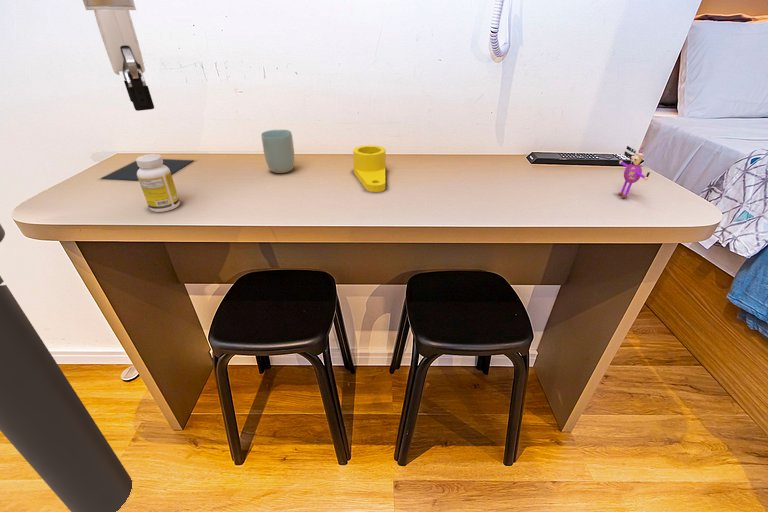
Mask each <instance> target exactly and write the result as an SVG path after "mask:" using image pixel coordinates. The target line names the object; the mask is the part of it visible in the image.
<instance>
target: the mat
mask: <svg viewBox="0 0 768 512" xmlns="http://www.w3.org/2000/svg"><path fill="white" fill-rule="evenodd" d="M162 159H163V158H162ZM193 162H194V160H190V159H163V165H165V166H167V167H168V168H169V170H170V172H171V175H173V174H175V173H176V172H178V171H180V170H182V169H183V168H185V167H186V166H188V165H189V164H192V163H193ZM139 169H140V167H138V165H137V162H136V160H135V161H133V162H131V163H128V164H127V165H125V166H123V167H121V168H119V169H117V170H115V171H113V172H111V173H109V174H107V175H105V176H102V177H101V178H100V179H101V180H117V181H118V180H119V181H138V182H139V180H138V177H137V171H138V170H139Z"/></svg>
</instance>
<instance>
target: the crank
mask: <svg viewBox="0 0 768 512" xmlns="http://www.w3.org/2000/svg"><path fill="white" fill-rule="evenodd" d="M352 158H353V174H354V175H355V177H357V179H358V181H359V182H360V183H361V185H362V186H363V188H364V189H365V190H366V191H367V192H370V193H380V192H383V191H385V190H386V148H385V147H383V146H379V145H371V144H370V145H368V144H367V145H360V146H355V147H354V148H353V149H352Z"/></svg>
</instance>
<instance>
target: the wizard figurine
mask: <svg viewBox="0 0 768 512" xmlns="http://www.w3.org/2000/svg"><path fill="white" fill-rule="evenodd" d="M643 149H644V146H643V145H642V146H641V148H640V149H639V150H638V151H637V150H635V149H634V148H633V147H630V146H628V145H626V150H627V151H626V150H625V151H624V153H623V154H624V155H625V156H626V157H628V158H629V159H630V161H631V162H630V163H629V164H628V163H626V162H624V161H623V160H620V161H619V165H622V166H624V167H625V169H624V171H623V179H624V180H625V181H624V183H623V185H622V188H621V191H620V192H618V193H617V196H621V198H622V199H627V197H628V195H629V192H630V189H631V187H632V185H633V184H634V183H637V182H638V181H639V180H640V178H641V179H643V180H644V181H648V180H649V176H650V174H651V170H648V171H647V173H646V175H645V174H643V170H642V167H641V165H640V163H641V162H642V159H643V158H644V153H643ZM628 151H629V152H628ZM631 153H633V154H634V155H633V154H631ZM627 184H628V185H627ZM624 192H625V193H624Z"/></svg>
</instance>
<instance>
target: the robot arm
mask: <svg viewBox="0 0 768 512" xmlns="http://www.w3.org/2000/svg"><path fill="white" fill-rule="evenodd" d="M82 2H83V5H84V9H85V11H93V12H94V17H95V21H96V24H97V27H98V30H99V34H100V36H101V40H102V42H103V45H104V48H105V51H106V53H107V57H108V60H109V62H110V66H111V68H112V70H113V73H114V74H116V75H117V76H120V72H122V76H123V78H124V80H123V82H124V85H125V88H126V92H127V95H128V98H129V101H130V102H131V103H132V104H133V108H134V110H135V111H137V112H140V111H148V110H154V109H155V105H154V101H153V98H152V95H151V92H150V88H149V86H148V85H147V83H146V80H145V76H144V73H145V72H146V69H145V64H144V60H143V59H144V58H143V55H142V51H141V47H140V43H139V40H138V36H137V33H136V30H135V26H134V23H133V19H132V16H131V14H130V11H137V7H136V4H135V0H82Z"/></svg>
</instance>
